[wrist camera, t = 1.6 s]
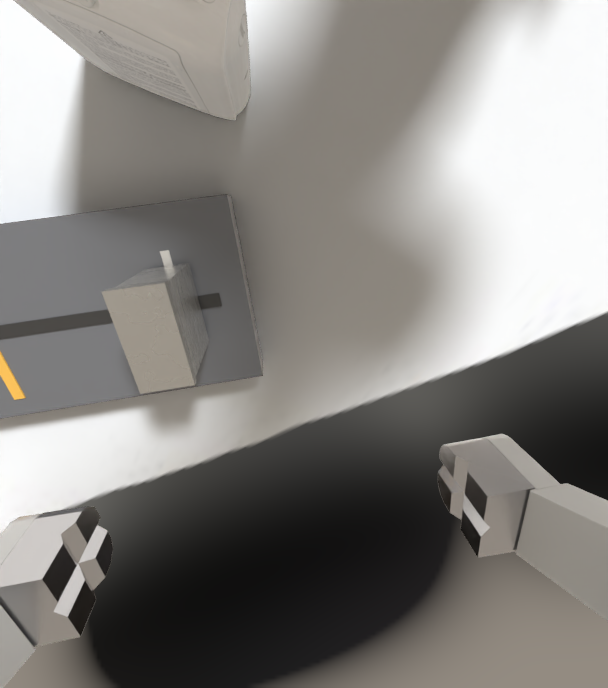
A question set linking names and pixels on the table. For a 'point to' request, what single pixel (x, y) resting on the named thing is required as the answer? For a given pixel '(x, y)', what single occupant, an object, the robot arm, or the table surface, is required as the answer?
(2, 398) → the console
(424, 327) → the table surface
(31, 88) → the table surface
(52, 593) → the robot arm
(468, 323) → the table surface
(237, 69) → the photo printer
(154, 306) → the fader
